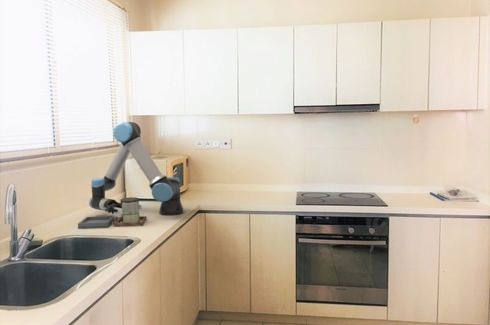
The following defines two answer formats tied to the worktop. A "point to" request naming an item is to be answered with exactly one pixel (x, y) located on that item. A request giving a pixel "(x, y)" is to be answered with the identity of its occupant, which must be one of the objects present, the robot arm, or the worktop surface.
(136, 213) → the coffee can
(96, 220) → the gray tray
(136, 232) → the worktop surface
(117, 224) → the walnut holder
